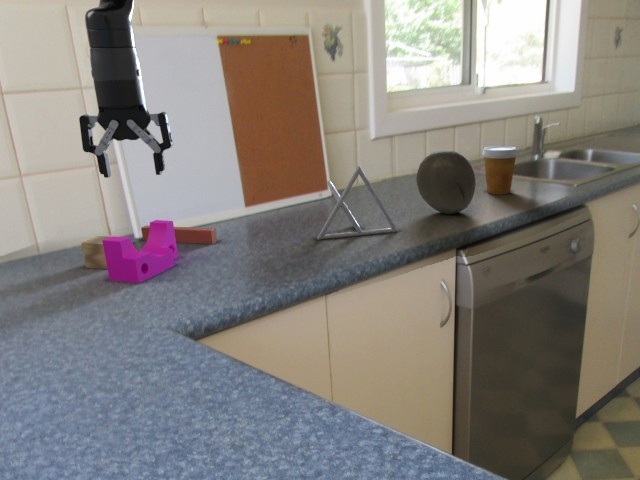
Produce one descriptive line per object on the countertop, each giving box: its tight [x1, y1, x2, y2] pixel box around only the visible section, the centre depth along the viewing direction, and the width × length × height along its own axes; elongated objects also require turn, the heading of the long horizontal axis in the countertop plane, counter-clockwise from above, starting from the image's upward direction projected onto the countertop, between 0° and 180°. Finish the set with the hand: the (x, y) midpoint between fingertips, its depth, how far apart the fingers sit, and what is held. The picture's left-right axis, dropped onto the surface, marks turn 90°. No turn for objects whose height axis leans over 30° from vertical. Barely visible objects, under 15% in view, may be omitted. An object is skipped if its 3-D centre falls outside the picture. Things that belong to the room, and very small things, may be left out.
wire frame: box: [316, 165, 399, 241], centre depth 145 cm, size 18×13×16 cm
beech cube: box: [80, 235, 111, 270], centre depth 126 cm, size 5×5×5 cm
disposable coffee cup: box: [482, 145, 519, 195], centre depth 181 cm, size 10×10×12 cm
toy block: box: [102, 219, 179, 284], centre depth 122 cm, size 15×6×8 cm, turn 163°
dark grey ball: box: [415, 150, 476, 215], centre depth 158 cm, size 14×14×15 cm
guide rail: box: [140, 225, 218, 245], centre depth 141 cm, size 16×2×3 cm, turn 76°
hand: (133, 175), depth 115 cm, fingers open, 8 cm apart
